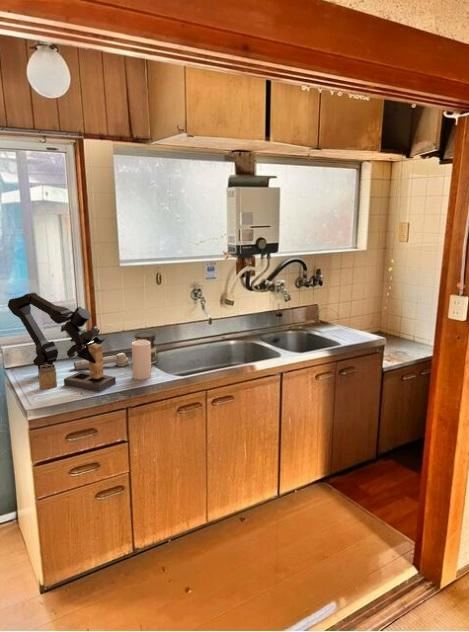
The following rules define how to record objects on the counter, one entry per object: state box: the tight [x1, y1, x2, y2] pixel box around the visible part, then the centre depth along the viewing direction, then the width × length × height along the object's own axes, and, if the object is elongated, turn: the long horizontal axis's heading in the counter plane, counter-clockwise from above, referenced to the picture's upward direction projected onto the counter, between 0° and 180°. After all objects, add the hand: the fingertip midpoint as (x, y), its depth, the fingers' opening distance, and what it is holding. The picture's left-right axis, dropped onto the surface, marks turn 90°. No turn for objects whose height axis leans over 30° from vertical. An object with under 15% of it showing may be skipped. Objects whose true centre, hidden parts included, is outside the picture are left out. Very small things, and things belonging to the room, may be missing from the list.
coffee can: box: [133, 331, 157, 365], centre depth 230 cm, size 10×10×14 cm
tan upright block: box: [37, 364, 58, 390], centre depth 195 cm, size 7×4×10 cm, turn 120°
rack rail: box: [63, 370, 117, 393], centre depth 200 cm, size 18×11×3 cm, turn 68°
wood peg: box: [88, 344, 105, 379], centre depth 196 cm, size 4×4×14 cm
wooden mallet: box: [73, 352, 130, 371], centre depth 222 cm, size 5×7×25 cm
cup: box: [131, 340, 152, 381], centre depth 209 cm, size 8×8×16 cm
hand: (98, 361), depth 196 cm, fingers closed on wood peg, 4 cm apart
